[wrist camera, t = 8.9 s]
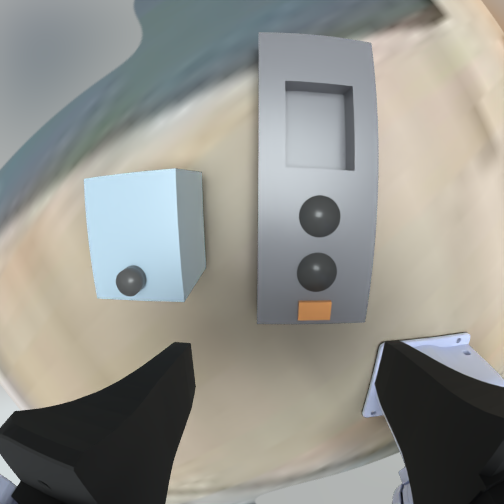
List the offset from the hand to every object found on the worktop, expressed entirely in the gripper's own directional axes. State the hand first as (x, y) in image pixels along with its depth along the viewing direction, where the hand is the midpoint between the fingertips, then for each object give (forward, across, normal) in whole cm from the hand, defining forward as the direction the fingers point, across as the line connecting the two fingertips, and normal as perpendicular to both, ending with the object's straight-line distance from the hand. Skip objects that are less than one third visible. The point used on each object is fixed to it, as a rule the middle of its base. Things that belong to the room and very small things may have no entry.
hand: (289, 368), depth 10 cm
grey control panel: (+10, -2, -7) cm, 13 cm away
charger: (+10, +7, -4) cm, 13 cm away
